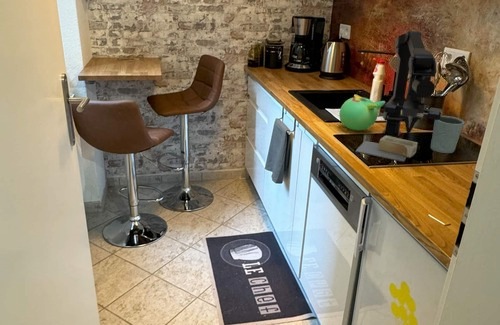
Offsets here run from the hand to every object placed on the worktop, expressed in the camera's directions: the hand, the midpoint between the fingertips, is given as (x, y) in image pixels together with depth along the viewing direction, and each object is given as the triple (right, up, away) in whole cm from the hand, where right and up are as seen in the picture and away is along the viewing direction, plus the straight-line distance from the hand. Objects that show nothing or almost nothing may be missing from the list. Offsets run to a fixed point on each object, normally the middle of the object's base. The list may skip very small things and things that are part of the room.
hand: (408, 133), depth 147 cm
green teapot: (-10, +4, +31) cm, 33 cm away
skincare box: (+3, -6, +1) cm, 7 cm away
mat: (-7, -6, +7) cm, 11 cm away
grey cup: (+17, -6, +10) cm, 21 cm away
